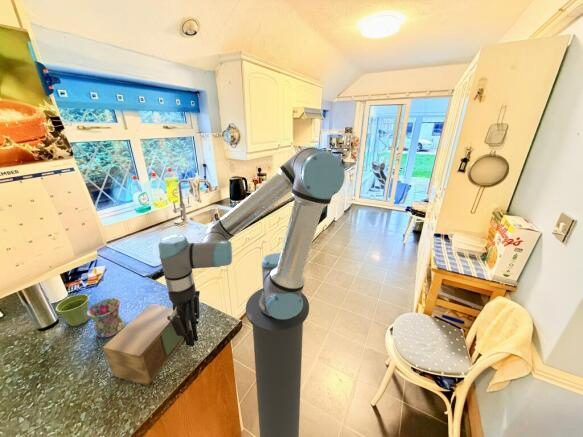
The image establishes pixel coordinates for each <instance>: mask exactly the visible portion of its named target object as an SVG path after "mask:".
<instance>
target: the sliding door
mask: <svg viewBox="0 0 583 437" xmlns="http://www.w3.org/2000/svg"><path fill="white" fill-rule="evenodd" d="M189 328H190V330H192V326H191V321H190V320H189ZM192 334H193V332H192ZM182 337H183V336H178V335H177V334H176V332H175V330H174V328H173V325H172V324H171V325H170V326H169V327H168V328H167V329H166V330H165V331H164V332H163V334H162V335H161V338H162V341H163V345H164V349H165V353H166V355H169V353H170V352H171V351H172V350H173V348H174V347H175V346H176V345H177V343H178V342H179V341H180V339H181V338H182Z"/></svg>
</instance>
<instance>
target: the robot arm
mask: <svg viewBox="0 0 583 437" xmlns="http://www.w3.org/2000/svg"><path fill="white" fill-rule="evenodd" d="M345 177H346V176H345V168H344V166H343V164H342V161H341V160H340V158H338V157H337V156H336V155H334V154H333V153H332V152H329V151H327V150H322V149H319V148H316V147H306V148H303V149H301V150H299V151H298V152H296V153H295V154H294V155H292V156H291V157H290V158H289V159H288V160H286V162H284V163H283V164H282V165H281V166H280V167H278V172H277V173H276V174H275V175H274V176H272V177H271V178H270V179H268V180H267V181H266V182H265V183H263V184H262V185H261V186H259V187H258V188H257V189H256V190H254V191H253V192H252V193H251V194H249V195H248V196H247V197H246V198H244V199H243V200H242V201H241V202H240V203H238V204H237V205H236V206H234V207H233V208H232V209H230V210H229V211H228V212H226V214H224V215H223V216H222V217H220V218H219V219H218V220H214V221H212V222H210V223H209V224H208V226H207V227H206V229H205V232H204V235H203V239H202V241H199V242H189V241H188V238H187V237H186V236H185V235H179V234H174V235H169V236H166V237H164V238H162V239H161V240H160V242H158V254H159V259H160V262H161V267H162V271H163V276H164V279H165V285H166V289H167V294H168V299H169V301H170V302H171V303H172V308H173V313H172V315H169V316H168V317H167V319H168V320H169V321H171V323H172V325H173V328H174V330H175V332H176V334H177V335H178V336H183V338H184V340H183V341H184V342H185V346H189V347H194V346H195V342H198V341H199V337H198V326H197V325H199V323H200V321H199V320H198V319H200V315H201V314H200V293H201V291H200V290H196V284H195V277H194V270H195V269H206V268H208V269H209V268H220V267H226V266H230V265H231V264H232V262H233V247H232V242H231V241H230V240H231V239H232V238H233V237H235V236H236V235H237V234H238V233H240V232H241V231H243V229H245V228H246V227H248V226H249V225H250V224H251V223H253V222H254V221H255V220H256V219H258V218H259V217H260V216H262V215H263V214H264V213H265V212H267V211H268V210H269V209H271V208H272V207H273V206H275V205H276V204H277V203H278V202H280V201H281V200H282V199H283V198H285V197H286V196H287V195H289V194H290V193H291V195H292V197H293V198H294V202H293V206H292V210H291V213H290V217H289V219H288V220H289V221H288V224H287V228H286V232H285V236H284V239H283V243H282V245H281V246H282V247H281V250H280V252H274V253H269V254H267V255H265V256H264V257H263V258H262V259H261V274H262V288H263V292H262V295H261V298H260V301H259V308H260V311H261V313H262V314H263V315H265V316H266V317H269V318H272V319H289V318H292V317H293V316H296V315H297V314H298V313H299V312H300V311H301V310H302V307H303V299H302V297H301V293H303V289H304V287H305V284H306V278H305V276H304V275H303V273H304V270H305V267H306V263H307V260H308V257H309V254H310V252H311V248H312V244H313V242H314V238H315V235H316V233H317V232H316V231H317V229H318V226H319V221H320V219H321V215H322V213H323V209H324V208H325V207H327V206H330V205H331V202H332V199H333V196H335V195H336V194H338V193H339V192H340V191H341V189H342V187H343V185H344V182H345ZM193 269H194V270H193ZM189 320H190V321H191V326H192V330H190V328H189ZM192 332H193V334H192Z"/></svg>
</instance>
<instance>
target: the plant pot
mask: <svg viewBox="0 0 583 437" xmlns="http://www.w3.org/2000/svg"><path fill="white" fill-rule="evenodd" d="M89 300H90V296H89V295H88V294H85V293H81V294H76V295H72V296H69V297H67V298H65V299H64V300H62V301H60V302H58V304H57V305H56V306H55V312H57V313H59V314H60V315H61V316H62V317H63V318H64V319H65V321H66V322H67V323H68V325H69V326H70V327H77V326H79V325H81V324H84V323H86V322H88V320H90V319H91V318H90V317H88V316H87V311H88V309H89V308H90V306H89Z"/></svg>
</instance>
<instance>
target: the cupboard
mask: <svg viewBox="0 0 583 437" xmlns="http://www.w3.org/2000/svg"><path fill="white" fill-rule="evenodd" d="M172 313H173V306H172V307H171V306H166V305H161V304H156V303H150V304H149V305H147V307H146V308H144V309H143V310H142V311H141V312H140V313H139V314H138V315H137V316H136V317H135V318H133V319H132V320H131V321H130V322H129V323H127V325H126V326H124V327H123V328H122V330H120V331H119V332H118V333H116V334H115V335H114V336H113V337H112V338H111V339H110V340H109V341H108V342H107V343H105V345H103V346H102V350H103V352H104V356H105V357H106V361H107V362H108V365H109V368H110V371H111V373H112V375H113V377H115V378H119V379H122V380H127V381H130V382H134V383H138V384H142V385H145V386H149V385H150V384H151V383H152V382H153V381H154V379H155V378H156V377H157V375H158V374H159V373H160V372H161V370H162V369H163V367H165V365H166V364H167V362H168V361H169V360H170V359H171V357H172V356H173V355H174V353H175V352H176V351H177V350H178V348H179V347H180V346H181V344H182V343H183V341H185V340H184V338H183V337H182V338H181V339H180V341H179V342H178V343H177V345H176V346H175V347H174V348H173V350H172V351H171V352H170V353H169V355H166V353H165V349H164V345H163V341H162V338H161V335H162V334H163V332H164V331H165V330H166V329H167V328H168V327H169V326H170V325H171V324H172V323H171V321H169V320H168V319H167V317H168V316H169V315H172Z"/></svg>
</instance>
